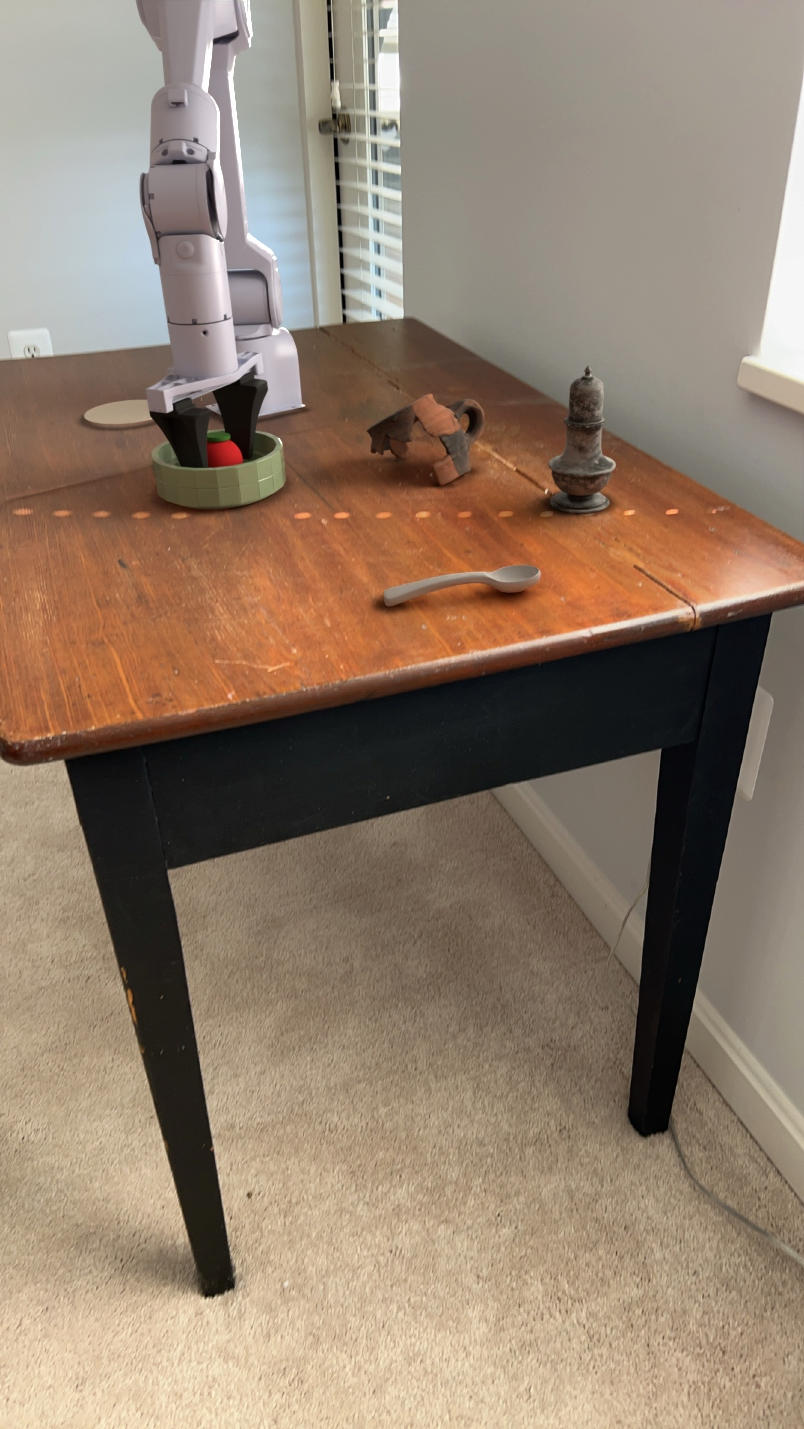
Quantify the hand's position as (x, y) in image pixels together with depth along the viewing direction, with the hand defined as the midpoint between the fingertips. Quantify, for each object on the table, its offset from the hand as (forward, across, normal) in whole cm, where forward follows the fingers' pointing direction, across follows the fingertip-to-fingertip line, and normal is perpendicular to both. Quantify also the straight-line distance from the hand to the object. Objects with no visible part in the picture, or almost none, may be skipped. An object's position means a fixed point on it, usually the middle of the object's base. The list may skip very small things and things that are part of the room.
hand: (219, 468), depth 96 cm
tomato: (+2, 0, 0) cm, 2 cm away
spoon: (+2, +11, +31) cm, 33 cm away
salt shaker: (+2, -10, +32) cm, 34 cm away
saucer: (+2, -16, -26) cm, 30 cm away
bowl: (+2, 0, 0) cm, 2 cm away
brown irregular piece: (+2, -13, +16) cm, 21 cm away
